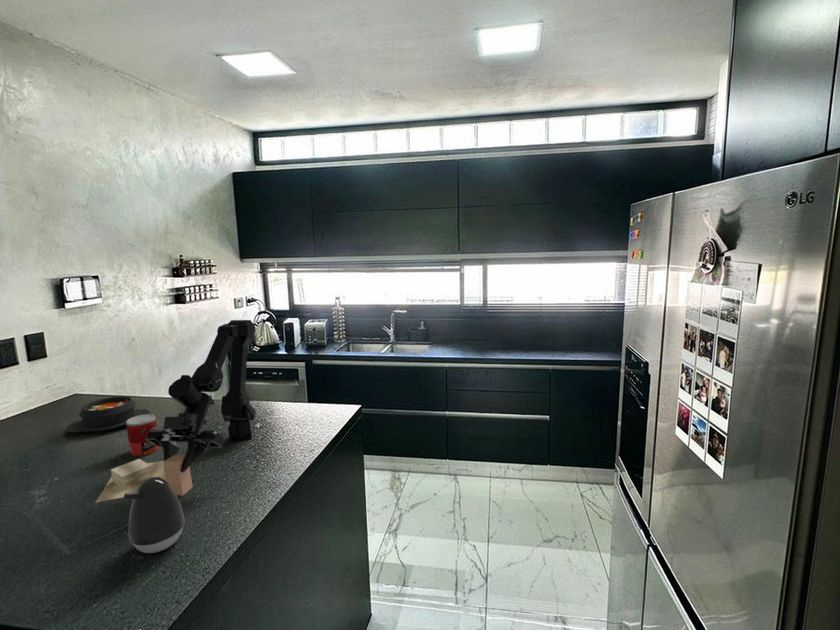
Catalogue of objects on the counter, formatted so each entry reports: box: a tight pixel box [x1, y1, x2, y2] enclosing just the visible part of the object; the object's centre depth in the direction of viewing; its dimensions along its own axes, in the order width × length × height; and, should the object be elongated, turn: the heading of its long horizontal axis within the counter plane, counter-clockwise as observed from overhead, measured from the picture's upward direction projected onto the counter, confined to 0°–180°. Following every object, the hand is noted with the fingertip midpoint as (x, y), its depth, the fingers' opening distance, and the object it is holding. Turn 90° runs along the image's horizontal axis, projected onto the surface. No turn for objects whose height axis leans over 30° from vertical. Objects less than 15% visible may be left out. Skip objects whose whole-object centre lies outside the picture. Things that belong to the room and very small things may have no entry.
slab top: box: [110, 458, 152, 483], centre depth 119 cm, size 7×7×2 cm
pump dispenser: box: [123, 477, 185, 554], centre depth 92 cm, size 10×10×15 cm
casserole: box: [65, 395, 151, 434], centre depth 158 cm, size 25×19×8 cm
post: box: [163, 454, 194, 498], centre depth 112 cm, size 4×4×10 cm
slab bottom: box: [111, 472, 152, 489], centre depth 119 cm, size 7×7×2 cm
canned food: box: [125, 413, 160, 457], centre depth 135 cm, size 8×8×11 cm
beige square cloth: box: [95, 460, 166, 503], centre depth 120 cm, size 18×18×1 cm
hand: (173, 471), depth 111 cm, fingers closed on post, 4 cm apart
